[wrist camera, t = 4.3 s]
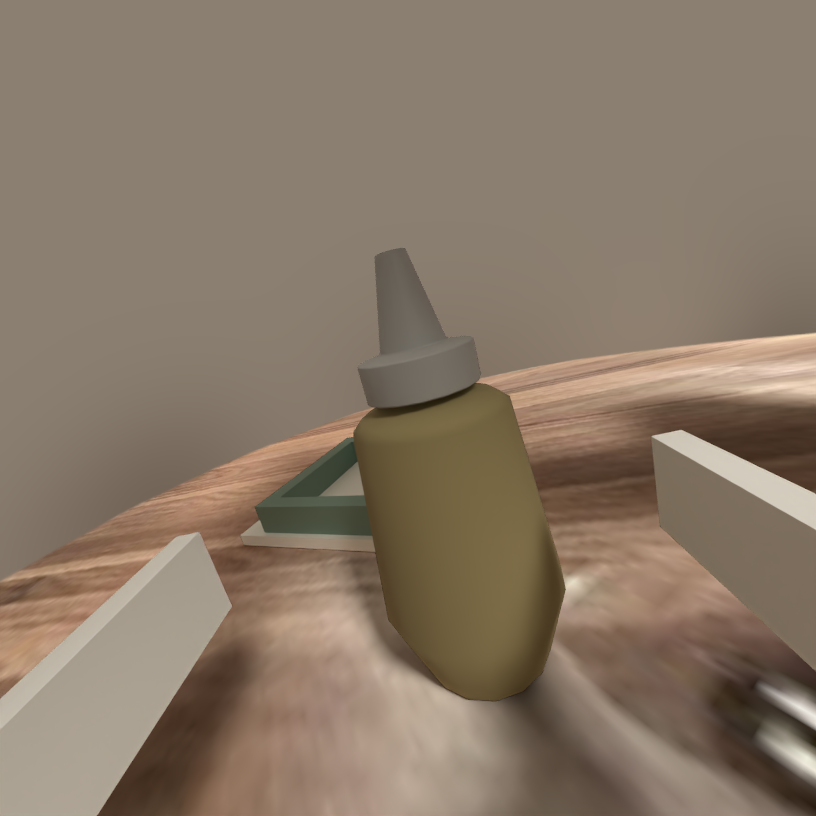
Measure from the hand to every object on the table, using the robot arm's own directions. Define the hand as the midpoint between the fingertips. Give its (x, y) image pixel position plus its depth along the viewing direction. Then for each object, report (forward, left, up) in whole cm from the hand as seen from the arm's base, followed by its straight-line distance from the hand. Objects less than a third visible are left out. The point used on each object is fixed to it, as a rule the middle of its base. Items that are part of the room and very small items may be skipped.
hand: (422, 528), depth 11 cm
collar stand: (+14, -19, -10) cm, 26 cm away
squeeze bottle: (+1, -5, -10) cm, 11 cm away
